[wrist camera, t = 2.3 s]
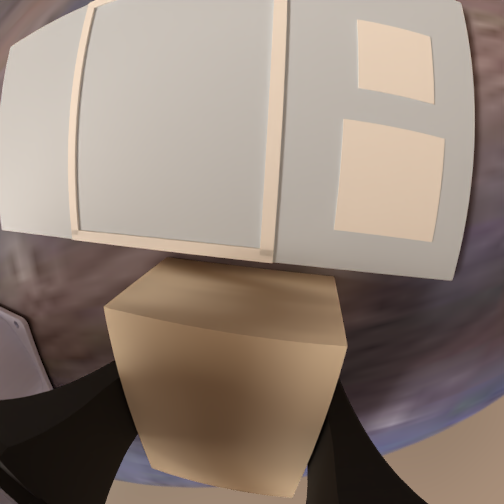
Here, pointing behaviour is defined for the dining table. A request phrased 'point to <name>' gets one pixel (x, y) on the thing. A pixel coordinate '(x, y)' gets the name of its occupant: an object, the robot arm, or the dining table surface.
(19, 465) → the robot arm
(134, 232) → the board
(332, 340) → the birch block
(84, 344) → the dining table surface
